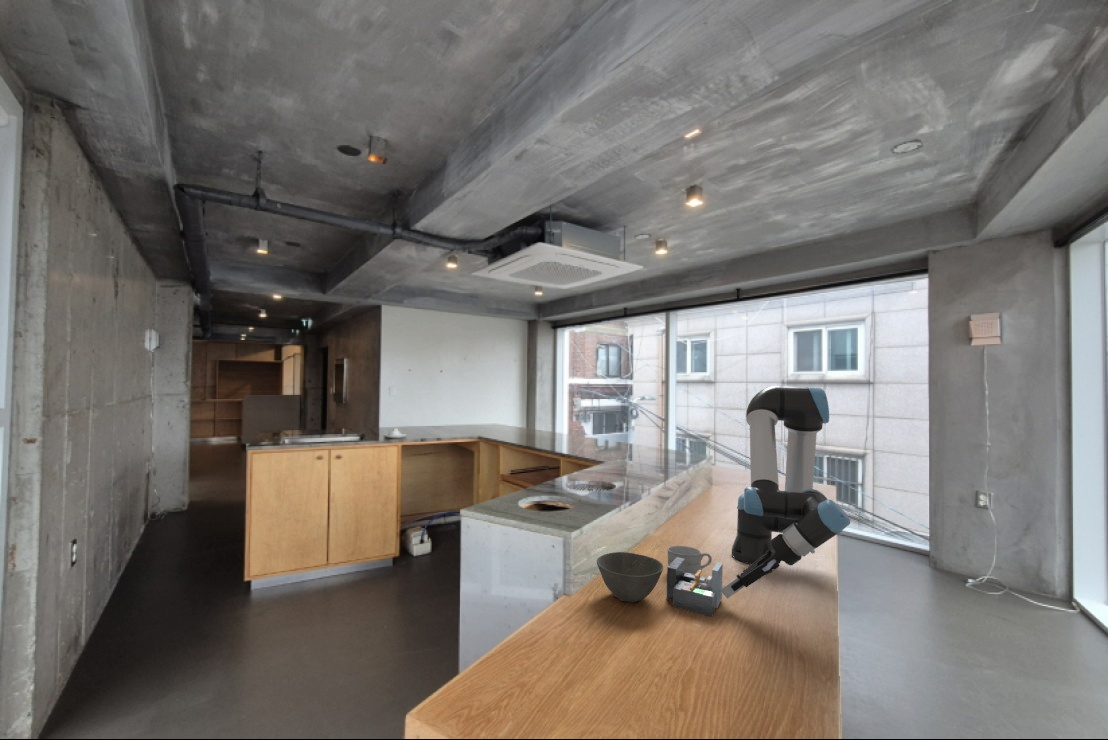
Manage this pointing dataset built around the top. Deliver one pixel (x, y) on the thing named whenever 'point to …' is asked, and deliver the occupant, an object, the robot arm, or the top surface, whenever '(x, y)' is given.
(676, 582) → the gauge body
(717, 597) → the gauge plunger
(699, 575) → the orange bar
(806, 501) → the robot arm
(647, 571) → the bowl
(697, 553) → the teacup
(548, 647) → the top surface
